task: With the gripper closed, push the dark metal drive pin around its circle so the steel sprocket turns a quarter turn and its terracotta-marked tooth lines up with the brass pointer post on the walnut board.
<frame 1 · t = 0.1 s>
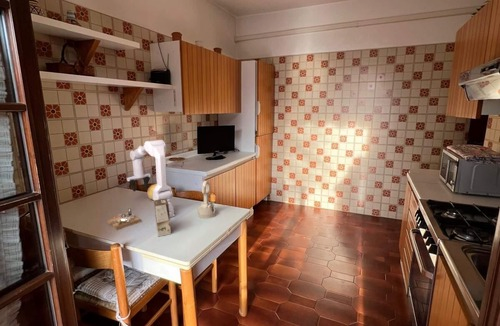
hand: (140, 189, 171), 10 cm above the table, tool pointing down, fingers open, 7 cm apart
sprocket: (123, 215, 145), point 4 cm above the table, hinge at 0.0°
coffee box: (163, 232, 135), on the table
index board: (124, 222, 146), on the table
sculpture: (157, 199, 183), on the table
engine component: (206, 215, 155), on the table
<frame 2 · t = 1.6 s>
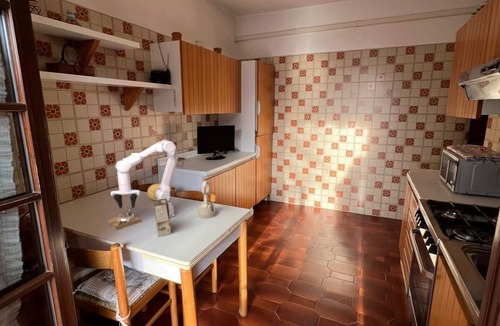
hand: (127, 207, 143), 9 cm above the table, tool pointing down, fingers open, 6 cm apart
nothing on the table moved.
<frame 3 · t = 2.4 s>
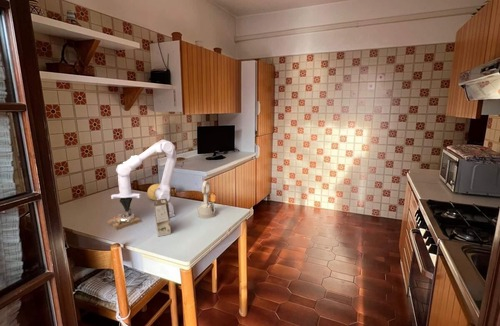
hand: (127, 210, 143), 8 cm above the table, tool pointing down, fingers closed
nothing on the table moved.
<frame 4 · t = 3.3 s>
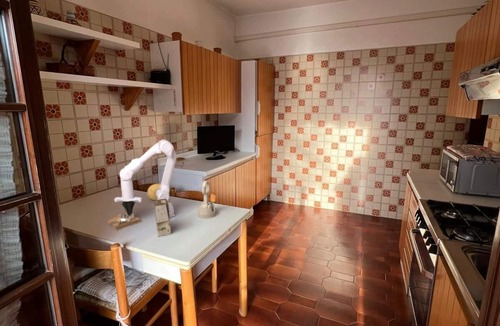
hand: (129, 214, 146), 5 cm above the table, tool pointing down, fingers closed
sprocket: (123, 215, 145), point 4 cm above the table, hinge at 2.9°, touching gripper
everything else where it was.
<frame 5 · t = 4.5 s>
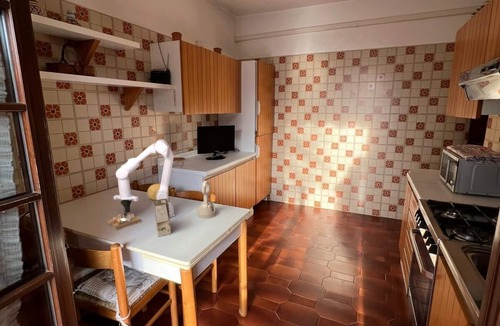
hand: (127, 212, 149), 5 cm above the table, tool pointing down, fingers closed, pressing on sprocket
sprocket: (123, 215, 145), point 4 cm above the table, hinge at 49.6°, touching gripper
everything else where it was.
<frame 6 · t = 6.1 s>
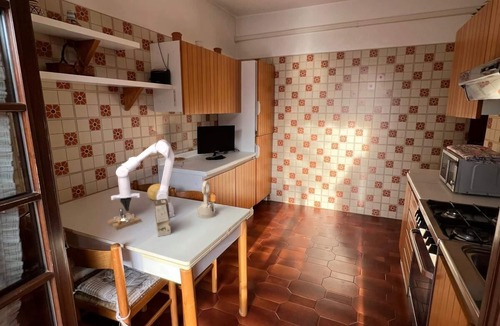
hand: (127, 210, 149), 5 cm above the table, tool pointing down, fingers closed
sprocket: (123, 215, 145), point 4 cm above the table, hinge at 84.6°
everything else where it was.
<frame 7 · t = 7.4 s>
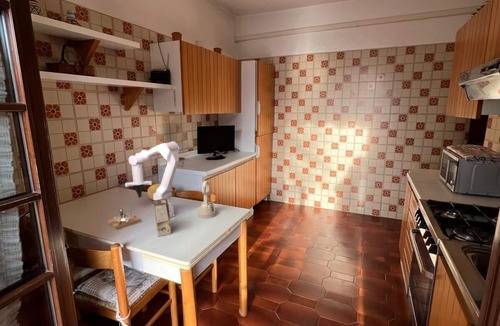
hand: (140, 196, 159), 9 cm above the table, tool pointing down, fingers closed
nothing on the table moved.
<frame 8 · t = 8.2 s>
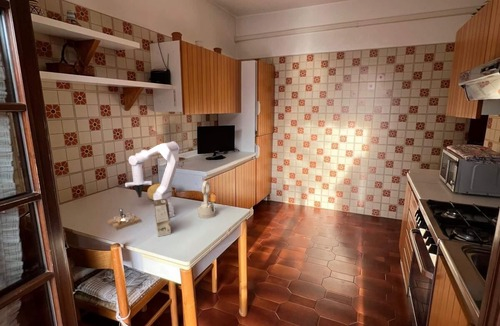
hand: (140, 196, 159), 9 cm above the table, tool pointing down, fingers closed
nothing on the table moved.
at the end: sprocket at +85° (first picture: +0°) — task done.
